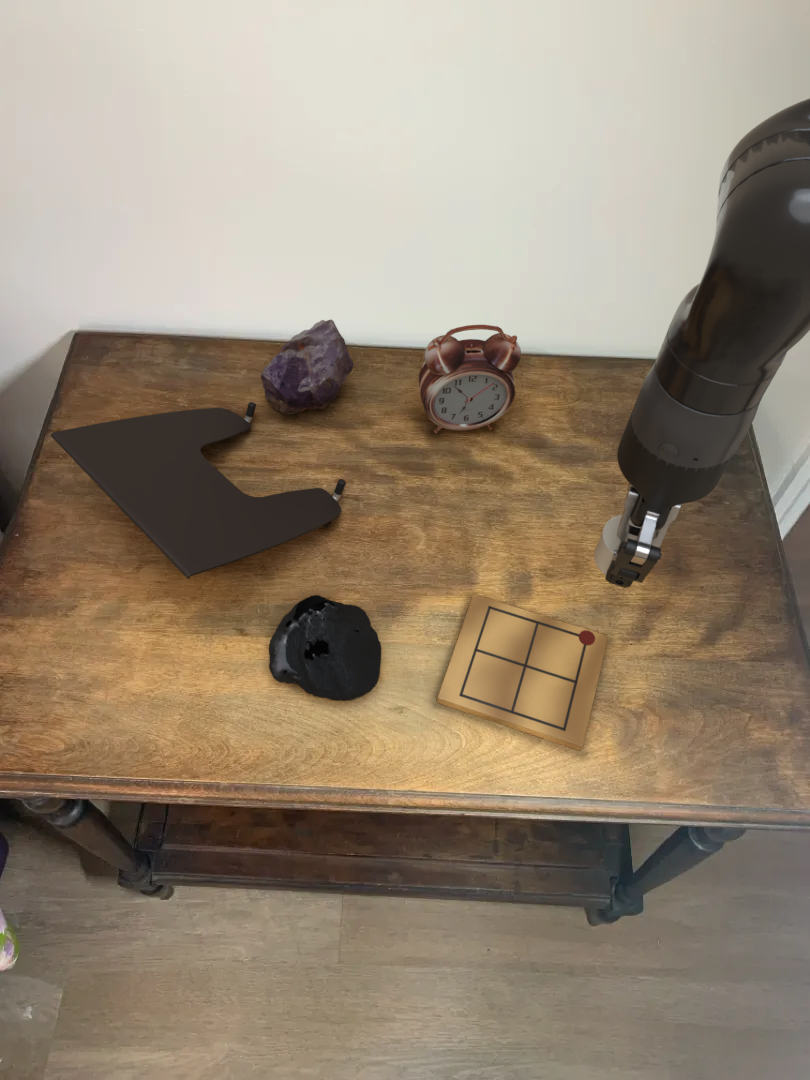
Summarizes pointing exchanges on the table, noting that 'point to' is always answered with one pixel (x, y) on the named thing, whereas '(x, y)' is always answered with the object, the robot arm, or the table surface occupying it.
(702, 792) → the table surface
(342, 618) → the rock
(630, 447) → the robot arm
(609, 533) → the stone
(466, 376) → the alarm clock
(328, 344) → the rock
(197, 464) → the laptop tray
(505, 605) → the board
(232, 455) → the table surface
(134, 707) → the table surface
